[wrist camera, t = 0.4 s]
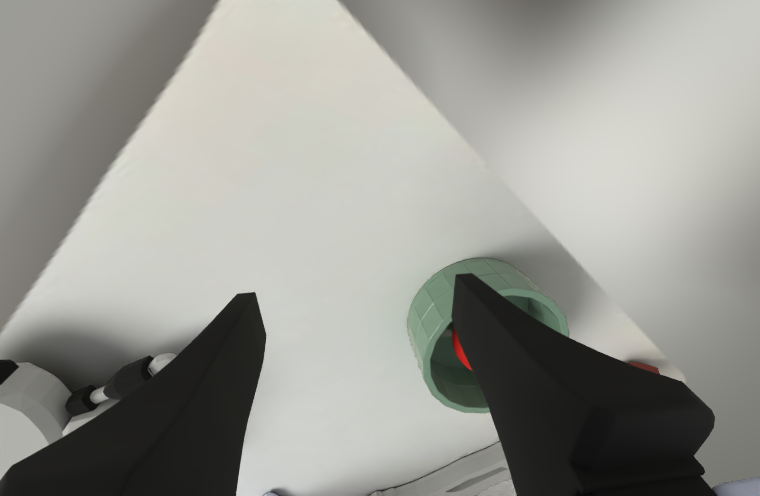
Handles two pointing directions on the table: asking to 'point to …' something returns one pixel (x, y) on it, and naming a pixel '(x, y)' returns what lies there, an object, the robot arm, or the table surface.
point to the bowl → (435, 327)
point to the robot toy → (56, 404)
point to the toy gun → (459, 476)
